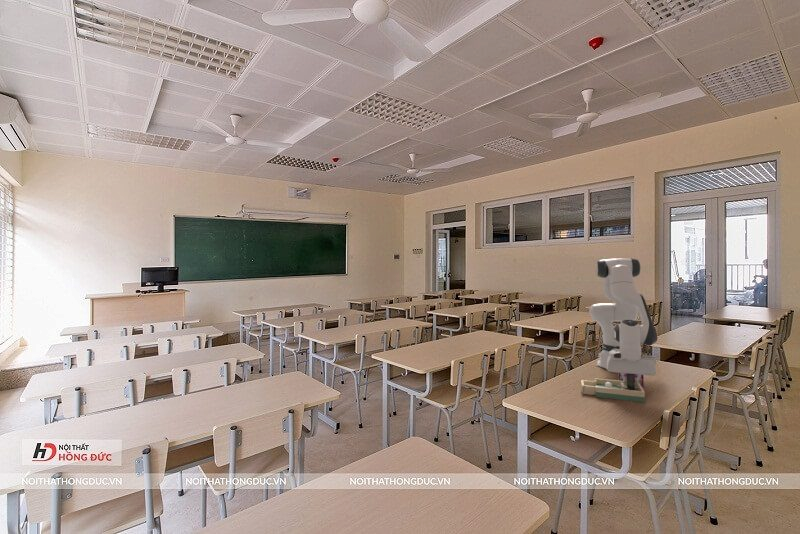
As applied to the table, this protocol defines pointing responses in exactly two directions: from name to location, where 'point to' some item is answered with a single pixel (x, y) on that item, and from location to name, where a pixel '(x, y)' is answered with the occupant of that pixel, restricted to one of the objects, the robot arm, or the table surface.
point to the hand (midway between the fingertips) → (630, 382)
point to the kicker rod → (629, 382)
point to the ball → (608, 385)
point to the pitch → (612, 390)
